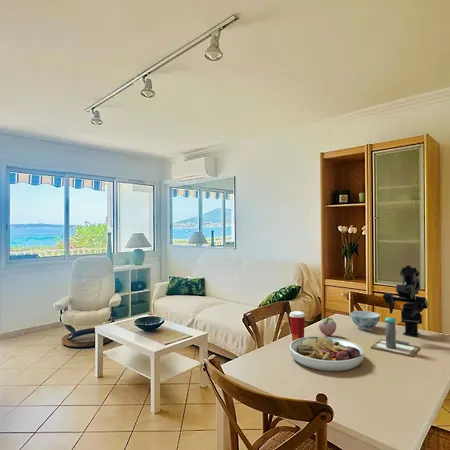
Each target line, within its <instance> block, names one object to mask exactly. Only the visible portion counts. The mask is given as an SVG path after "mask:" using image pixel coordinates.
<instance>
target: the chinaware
mask: <svg viewBox="0 0 450 450" xmlns="http://www.w3.org/2000/svg"><path fill="white" fill-rule="evenodd" d="M349 314H350V317H351V320H352V322H353V323H354V324H355V325H356V326H358V328H359V329H360V330H363V331H364V330H365V331H371V330H372V329H373V328H374V327H375V326H376V325H377V324H378V323H379V321H380V317H381V314H379V313H378V312H373V311H369V310H356V311H355V310H354V311H351V312H350V313H349Z"/></svg>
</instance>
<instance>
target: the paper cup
mask: <svg viewBox="0 0 450 450" xmlns="http://www.w3.org/2000/svg"><path fill="white" fill-rule="evenodd" d="M305 317H306V314H305V313H304V311H301V310H300V311H291V312H290V313H289V318H290V319H289V320H290V331H291V340H292V341H291V342H293V341H294V340H297V339H300V338H304V337H305V323H306V322H305Z"/></svg>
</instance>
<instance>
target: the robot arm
mask: <svg viewBox="0 0 450 450" xmlns="http://www.w3.org/2000/svg"><path fill="white" fill-rule="evenodd" d="M399 274H400V277H401V278H402V284H396V286H395V292H397V293H396V295H397V296H394V294H393V293H391V292H384V293H383V294H382V298H383V300H384V302H385V303H386V304H387V305H388V309H389V314H390V315H392V313H393V311H394V308H395V302H400V303H401V302H402V303H403V306H402V310H401V311H400V313H401V314H400V315H401V316H400V317H401V323H404V331H403V333H402V335H405V336H410V337H416V338H417V337H419V336H420V335H421V333H420V332H419V330H418V329H419V327H418V325H421V324H423V315H422V314H421V311H423V310H424V309H425V310H426V309H428V307H429V303H428V300H427V298H426V296H417V295H419V292H420V291H421V283H420V282H421V281H420V279H419V278H418V277H419V276H420V271H419V269H417V267H412V265H406V266H404V267H403V266H402V268H401V269H400V273H399Z"/></svg>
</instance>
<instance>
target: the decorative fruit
mask: <svg viewBox="0 0 450 450" xmlns="http://www.w3.org/2000/svg"><path fill="white" fill-rule="evenodd" d="M318 328H319V331H320V332H321V333H322V334H323V335H324V336H325V337H331V336H333V334H334V333H335V332H336V330H337V323H336V321H335V320H334V319H333V318H332V317H328V316H327V317H326V318H323V319H321V320H320V321H319V323H318Z"/></svg>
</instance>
